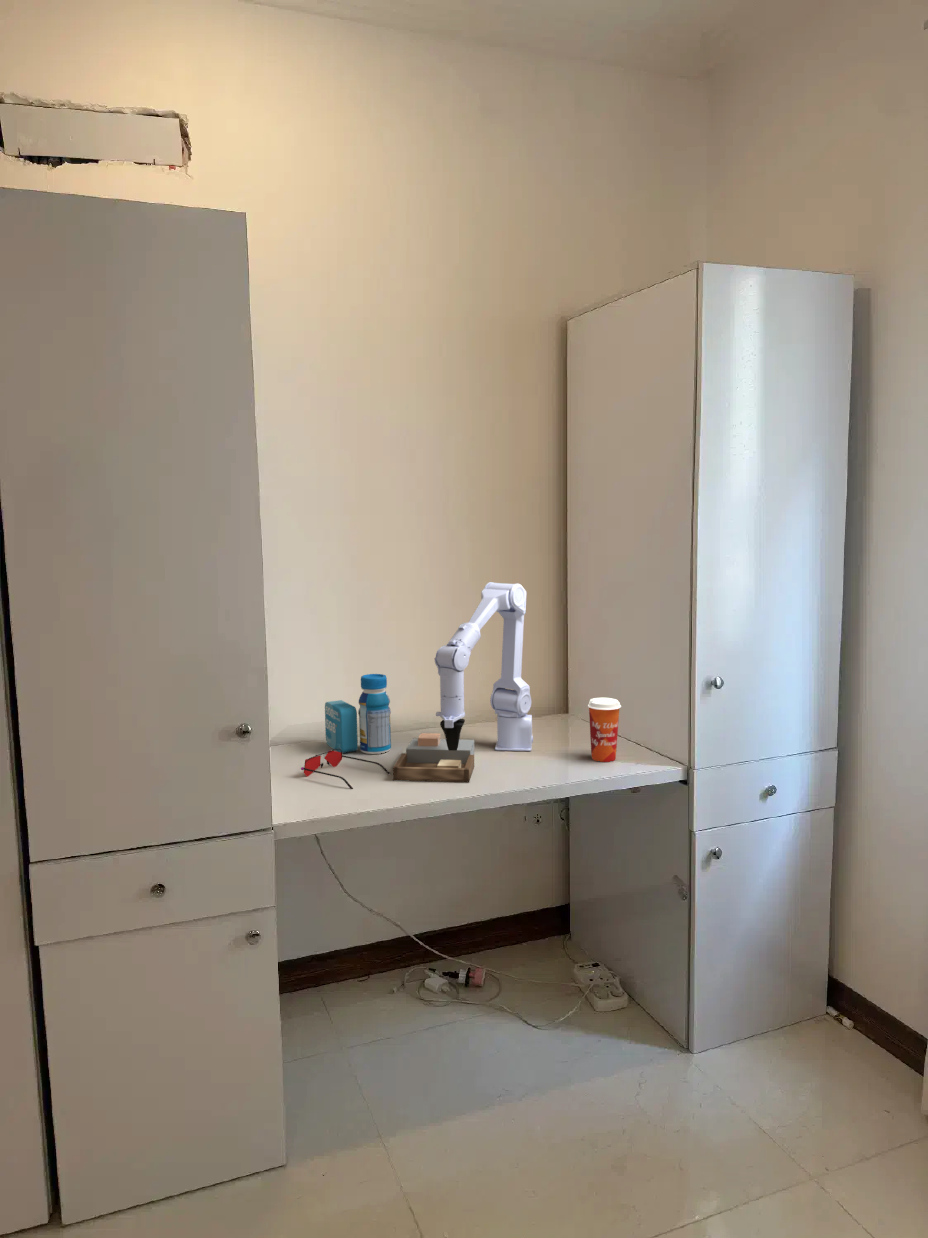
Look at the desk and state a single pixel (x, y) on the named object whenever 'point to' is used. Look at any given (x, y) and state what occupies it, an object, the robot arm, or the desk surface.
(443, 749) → the slate slab
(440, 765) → the ash tile
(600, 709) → the coffee cup
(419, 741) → the terracotta tile
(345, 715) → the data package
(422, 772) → the walnut box
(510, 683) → the robot arm
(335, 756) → the glasses
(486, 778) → the desk surface
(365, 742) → the beverage bottle
